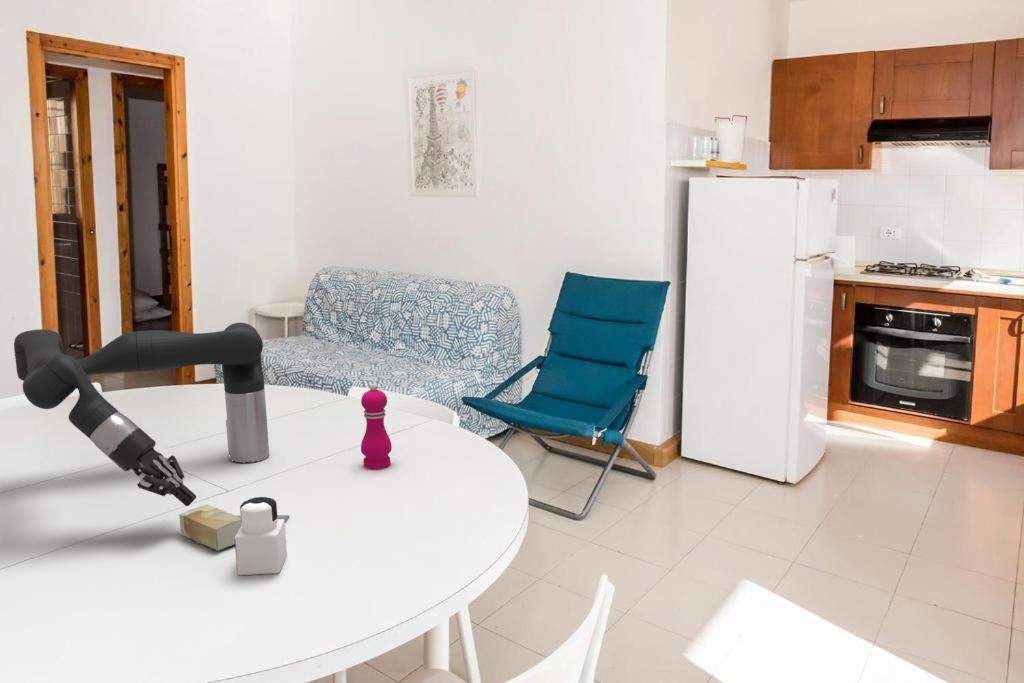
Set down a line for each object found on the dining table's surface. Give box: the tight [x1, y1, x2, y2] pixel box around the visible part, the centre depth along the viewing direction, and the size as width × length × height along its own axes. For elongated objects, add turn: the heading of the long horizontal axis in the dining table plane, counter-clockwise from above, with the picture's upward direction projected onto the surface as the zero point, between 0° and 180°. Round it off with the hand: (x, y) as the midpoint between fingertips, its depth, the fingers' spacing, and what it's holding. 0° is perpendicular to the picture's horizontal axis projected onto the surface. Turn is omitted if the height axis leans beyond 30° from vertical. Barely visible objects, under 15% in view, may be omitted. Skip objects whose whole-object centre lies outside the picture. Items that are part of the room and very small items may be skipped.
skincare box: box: [179, 504, 242, 551], centre depth 153 cm, size 6×4×12 cm
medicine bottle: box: [234, 496, 288, 576], centre depth 141 cm, size 7×7×12 cm
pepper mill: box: [360, 383, 393, 470], centre depth 192 cm, size 7×7×20 cm
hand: (192, 501), depth 156 cm, fingers closed
